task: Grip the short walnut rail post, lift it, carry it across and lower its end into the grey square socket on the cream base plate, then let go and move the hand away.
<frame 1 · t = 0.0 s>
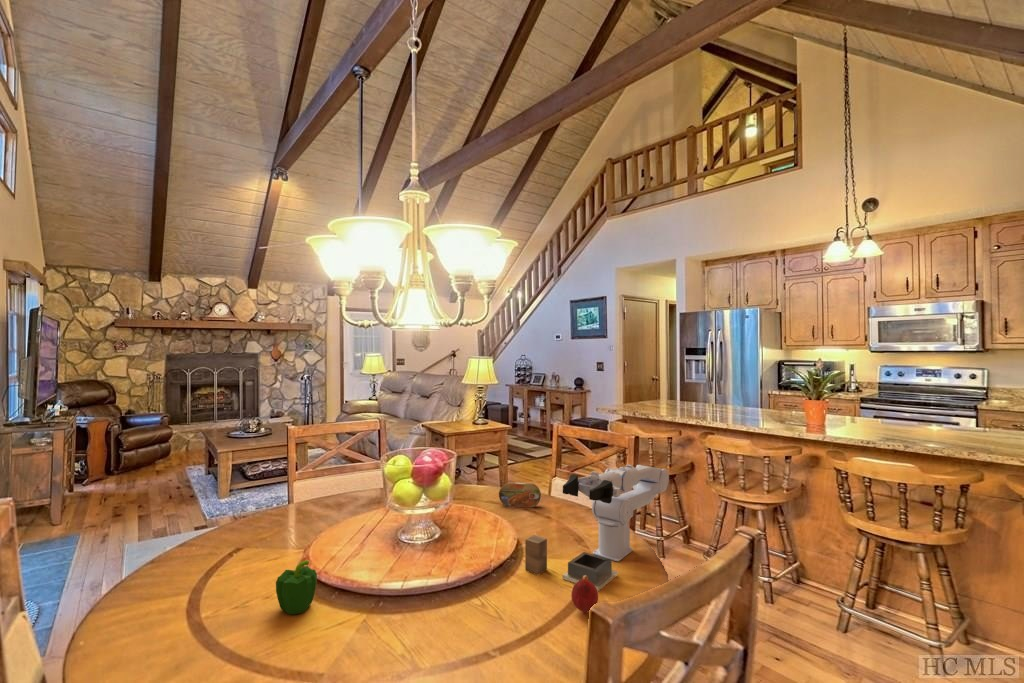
hand: (577, 492, 123), 22 cm above the table, tool horizontal, fingers open, 7 cm apart
tin: (520, 506, 178), on the table
onion: (584, 613, 108), on the table
rail post: (536, 569, 129), on the table
bell pepper: (296, 609, 110), on the table
grey square socket: (589, 577, 125), on the table
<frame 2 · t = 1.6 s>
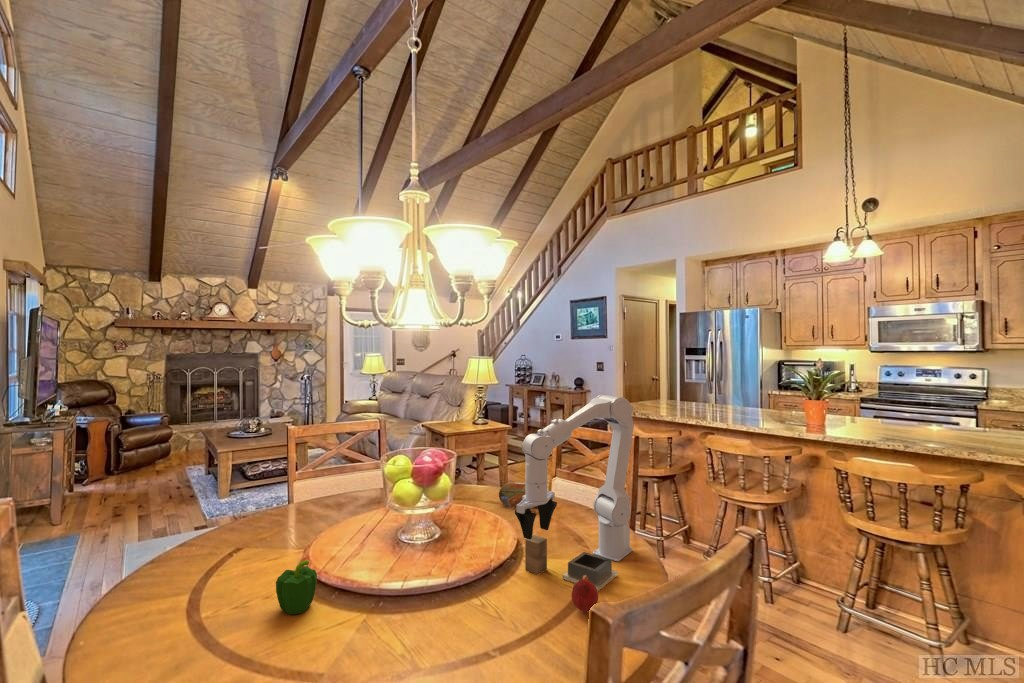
hand: (536, 533, 129), 9 cm above the table, tool pointing down, fingers open, 7 cm apart
nothing on the table moved.
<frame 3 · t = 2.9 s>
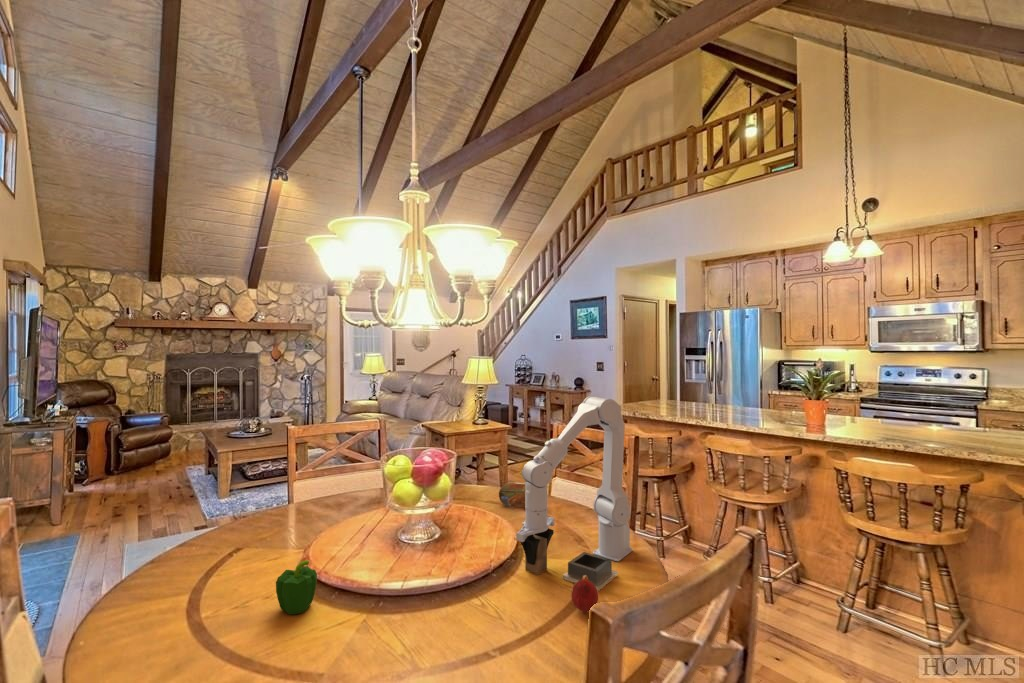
hand: (536, 560, 129), 2 cm above the table, tool pointing down, fingers closed on rail post, 4 cm apart
rail post: (536, 569, 129), on the table, touching gripper
everything else where it was.
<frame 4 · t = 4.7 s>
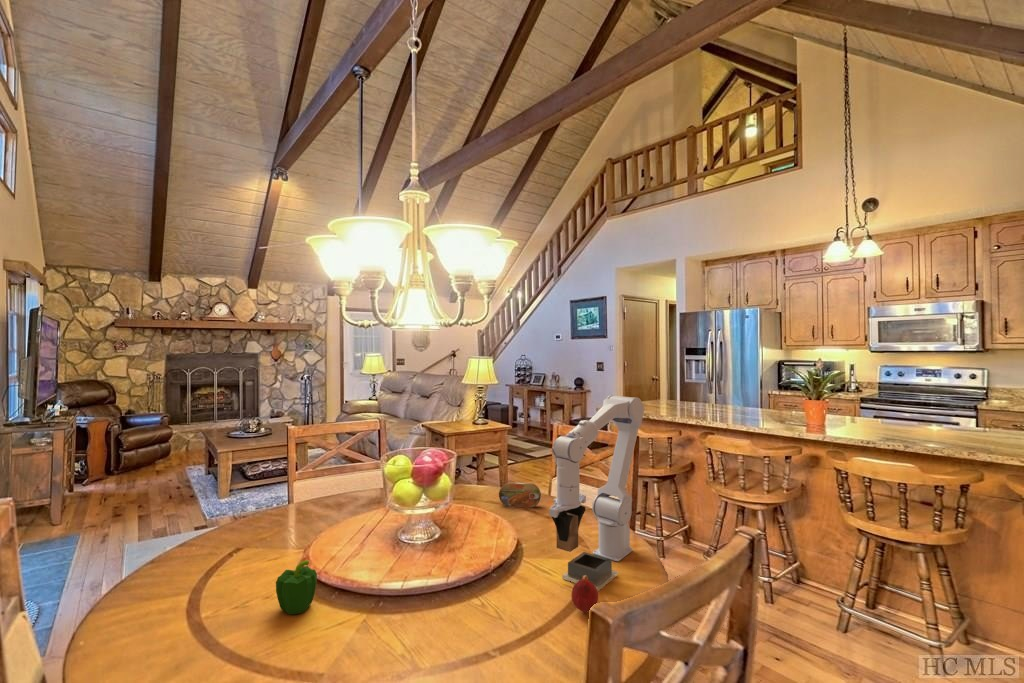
hand: (568, 537, 126), 9 cm above the table, tool pointing down, fingers closed on rail post, 4 cm apart
rail post: (567, 547, 126), point 7 cm above the table, touching gripper
everything else where it was.
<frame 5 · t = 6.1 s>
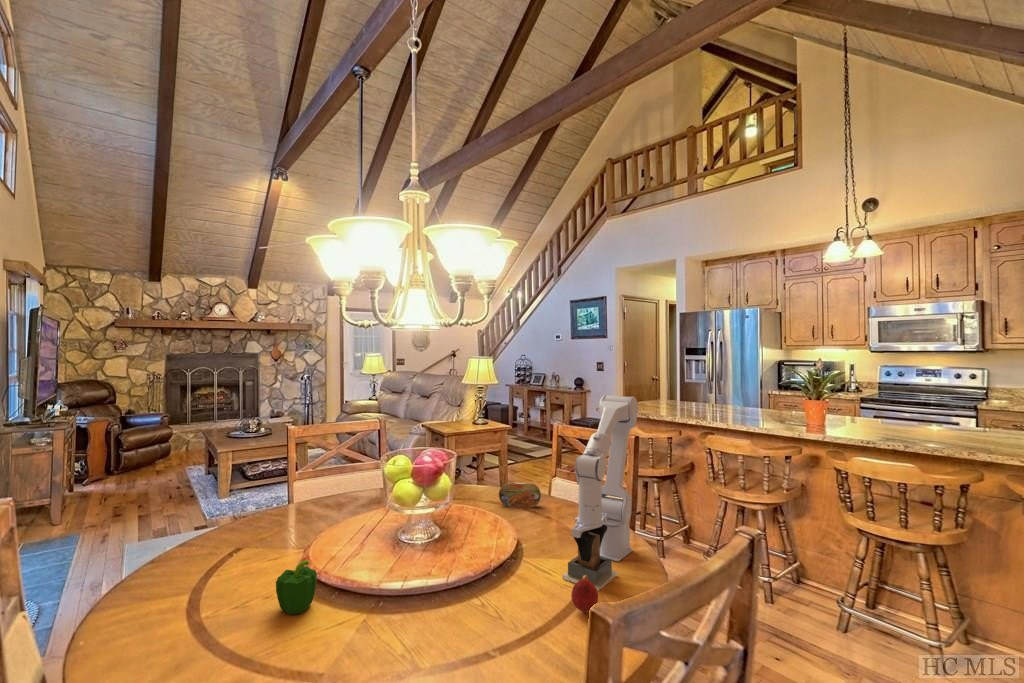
hand: (589, 557, 125), 5 cm above the table, tool pointing down, fingers closed on rail post, 4 cm apart
rail post: (589, 567, 125), point 2 cm above the table, touching gripper
everything else where it was.
when the fingers open (5 cm above the table, at t = 7.0 s): rail post drops 1 cm, resting on grey square socket.
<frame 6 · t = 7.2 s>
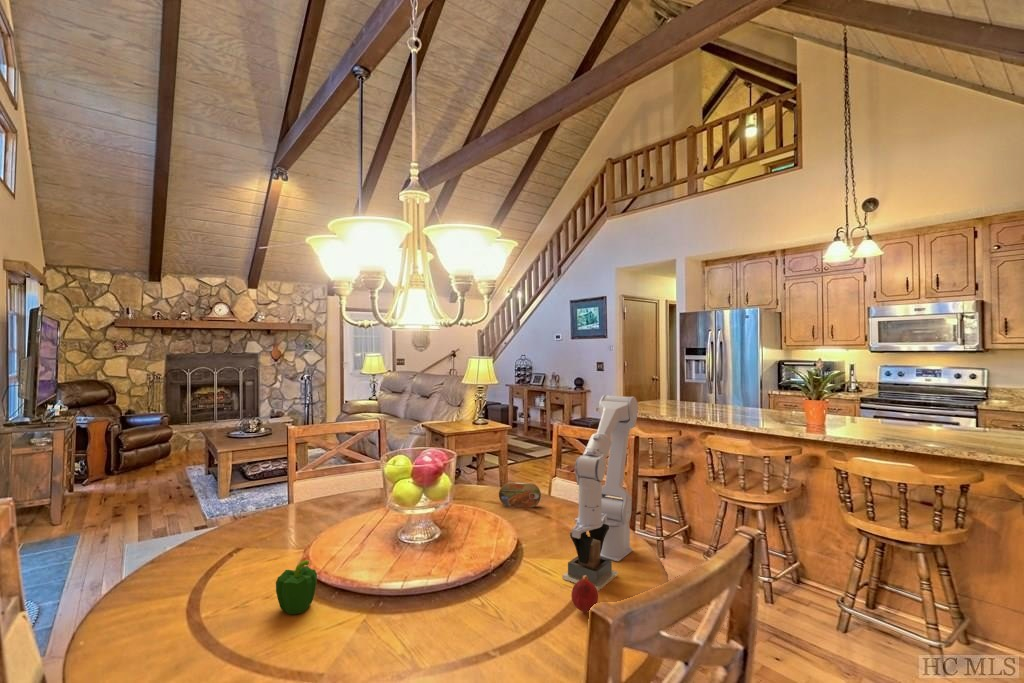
hand: (589, 557, 125), 5 cm above the table, tool pointing down, fingers open, 6 cm apart
rail post: (589, 572, 125), point 1 cm above the table, touching grey square socket
everything else where it was.
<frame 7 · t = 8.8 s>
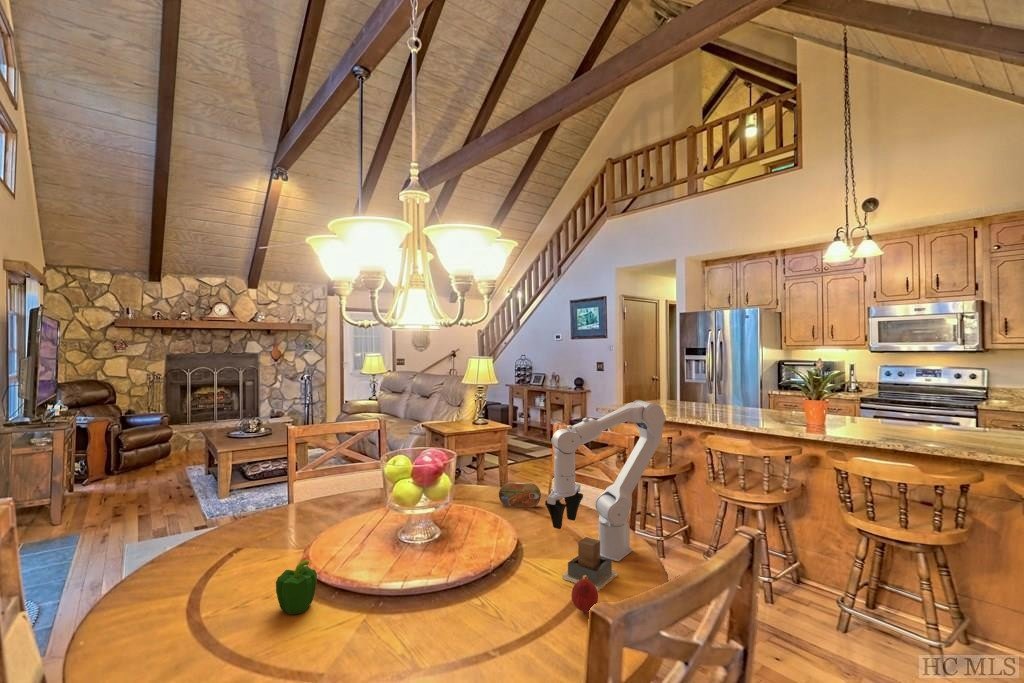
hand: (564, 523, 135), 9 cm above the table, tool pointing down, fingers open, 7 cm apart
nothing on the table moved.
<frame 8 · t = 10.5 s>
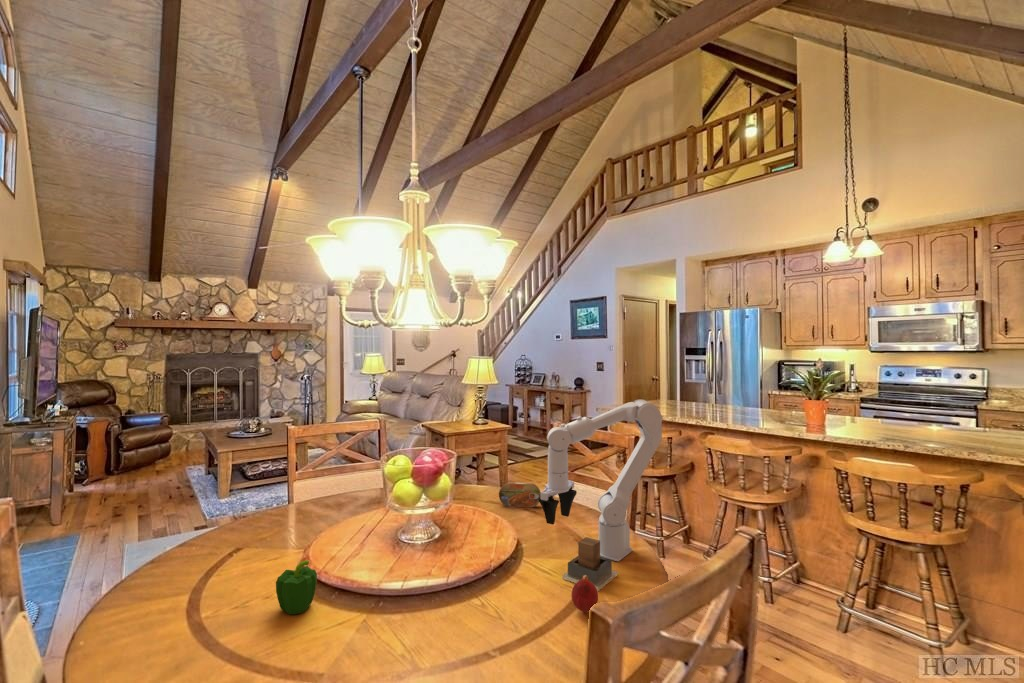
hand: (557, 519, 139), 9 cm above the table, tool pointing down, fingers open, 7 cm apart
nothing on the table moved.
at the end: rail post 0.2 cm off-centre on the grey square socket, point 1.0 cm above the grey square socket's base; rail post tilted 0°; the gripper is holding nothing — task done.
